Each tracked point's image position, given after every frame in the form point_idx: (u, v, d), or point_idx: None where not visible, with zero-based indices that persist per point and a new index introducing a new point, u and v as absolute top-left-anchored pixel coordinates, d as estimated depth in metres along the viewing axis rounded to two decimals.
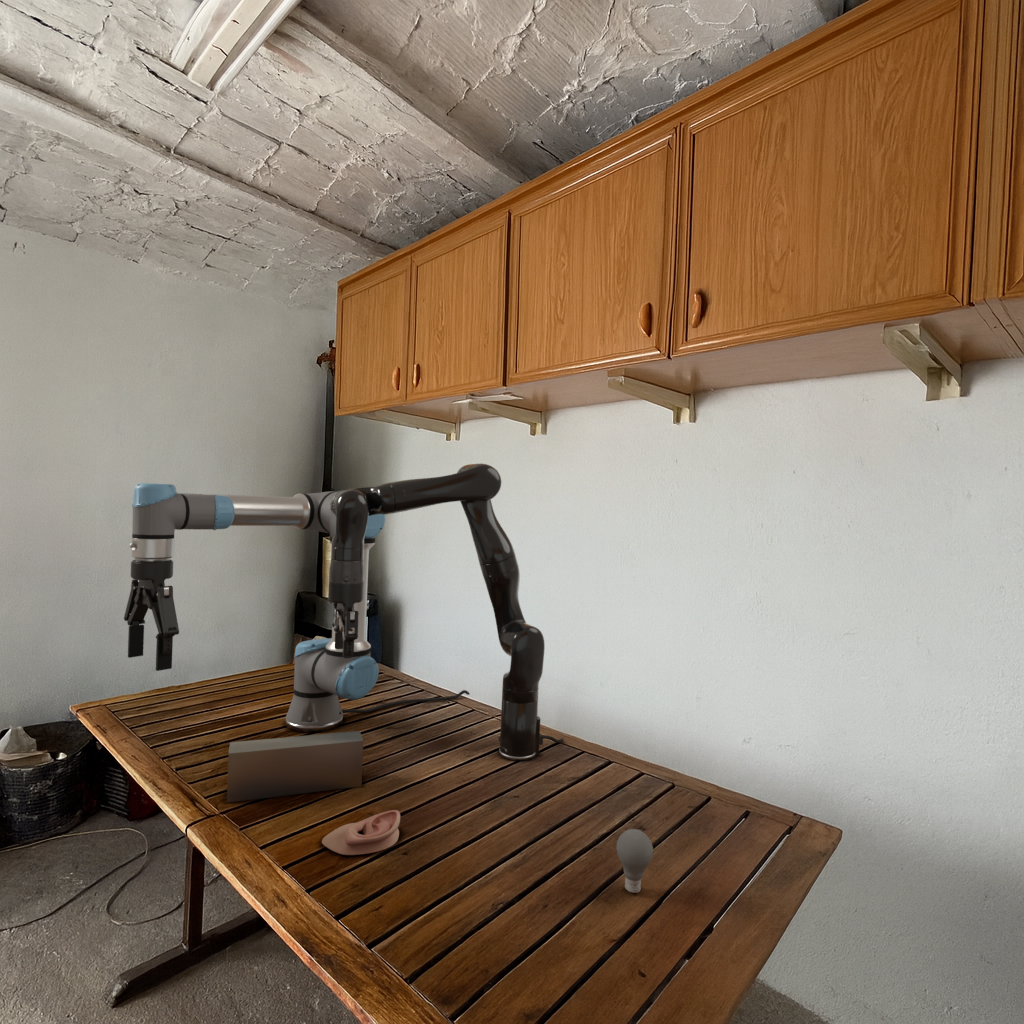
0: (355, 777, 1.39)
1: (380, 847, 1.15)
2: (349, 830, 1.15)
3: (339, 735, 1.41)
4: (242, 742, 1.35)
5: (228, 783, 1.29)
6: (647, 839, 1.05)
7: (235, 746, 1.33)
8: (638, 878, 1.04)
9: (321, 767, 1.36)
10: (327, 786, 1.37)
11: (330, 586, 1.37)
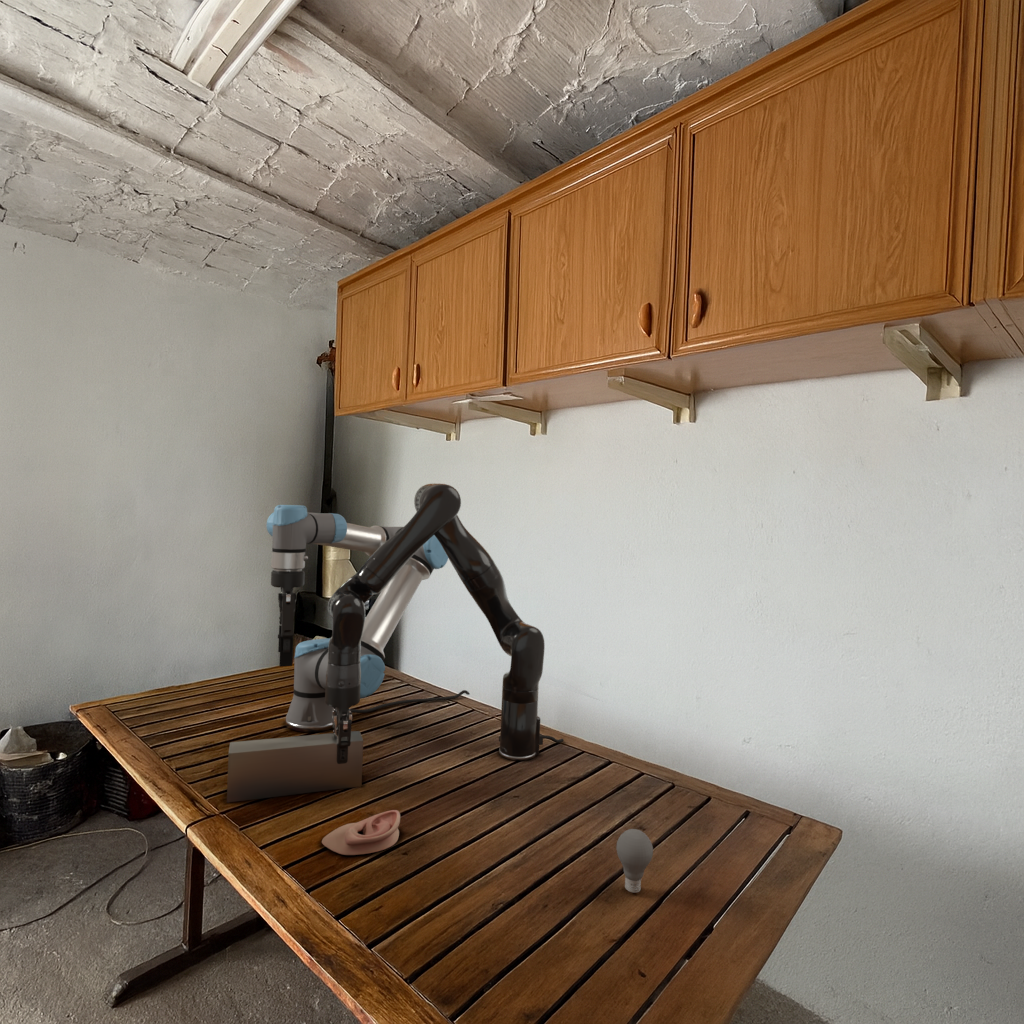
0: (355, 777, 1.39)
1: (380, 847, 1.15)
2: (349, 830, 1.15)
3: None
4: (242, 742, 1.35)
5: (228, 783, 1.29)
6: (647, 839, 1.05)
7: (235, 746, 1.33)
8: (638, 878, 1.04)
9: (321, 767, 1.36)
10: (327, 786, 1.37)
11: (326, 689, 1.38)
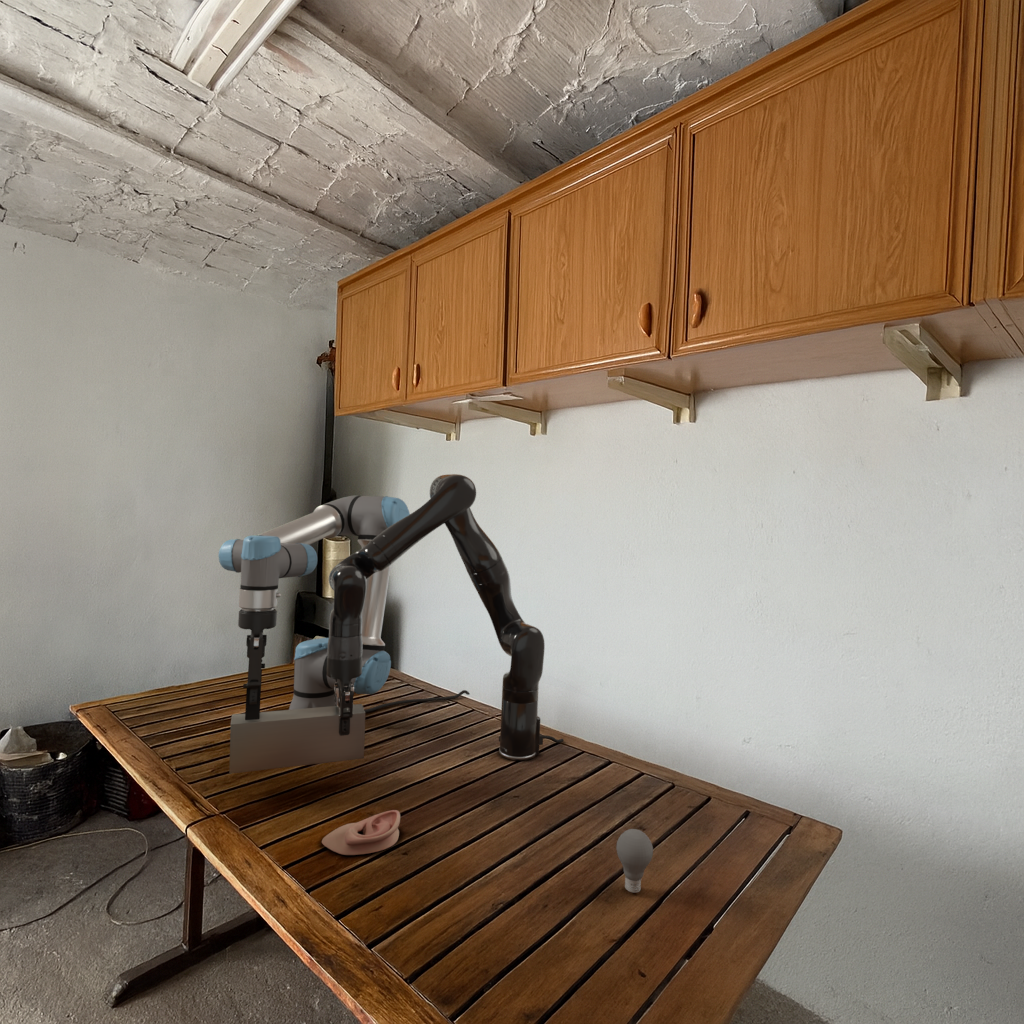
0: (357, 749, 1.39)
1: (380, 847, 1.15)
2: (349, 830, 1.15)
3: None
4: (244, 714, 1.35)
5: (230, 754, 1.29)
6: (647, 839, 1.05)
7: (237, 718, 1.33)
8: (638, 878, 1.04)
9: (324, 738, 1.36)
10: (330, 757, 1.37)
11: (328, 661, 1.38)
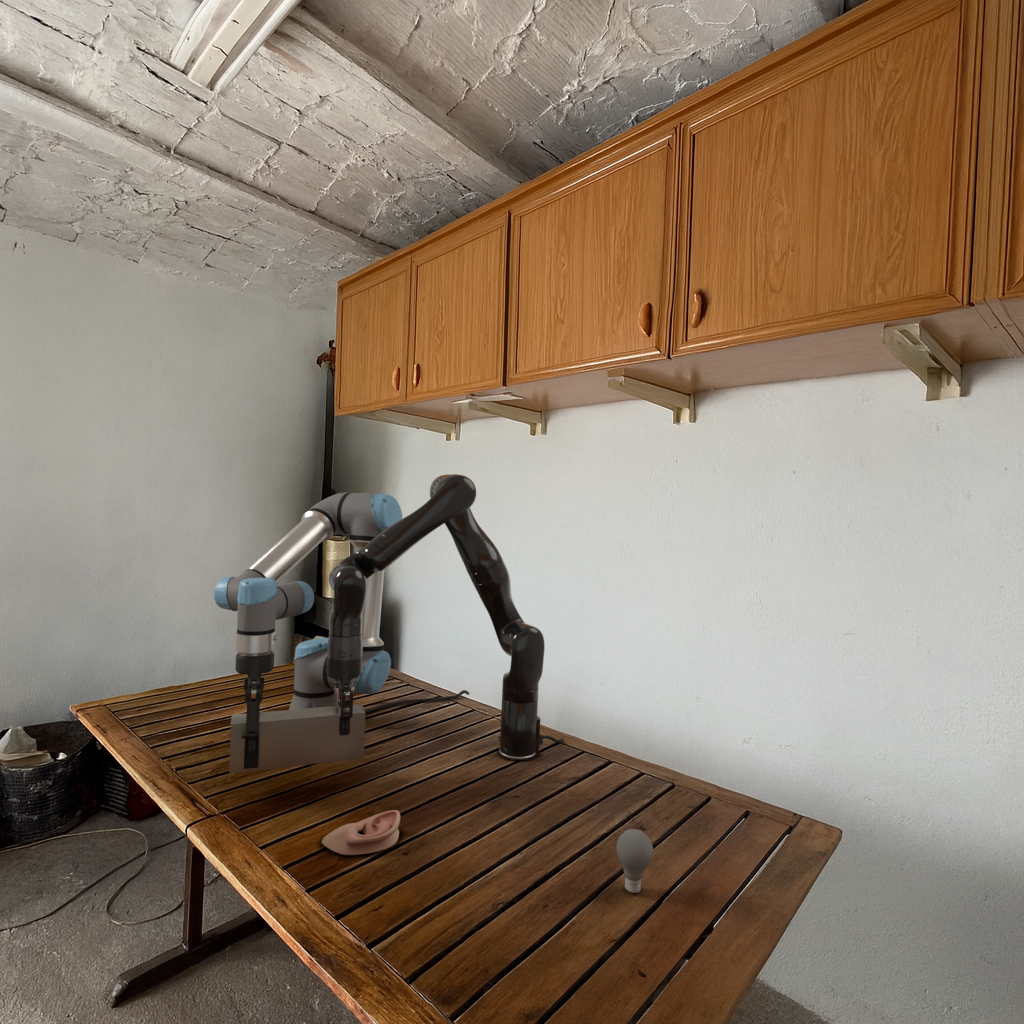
0: (357, 749, 1.39)
1: (380, 847, 1.15)
2: (349, 830, 1.15)
3: None
4: (244, 714, 1.35)
5: (230, 754, 1.29)
6: (647, 839, 1.05)
7: (237, 718, 1.33)
8: (638, 878, 1.04)
9: (324, 738, 1.36)
10: (330, 757, 1.37)
11: (328, 661, 1.38)
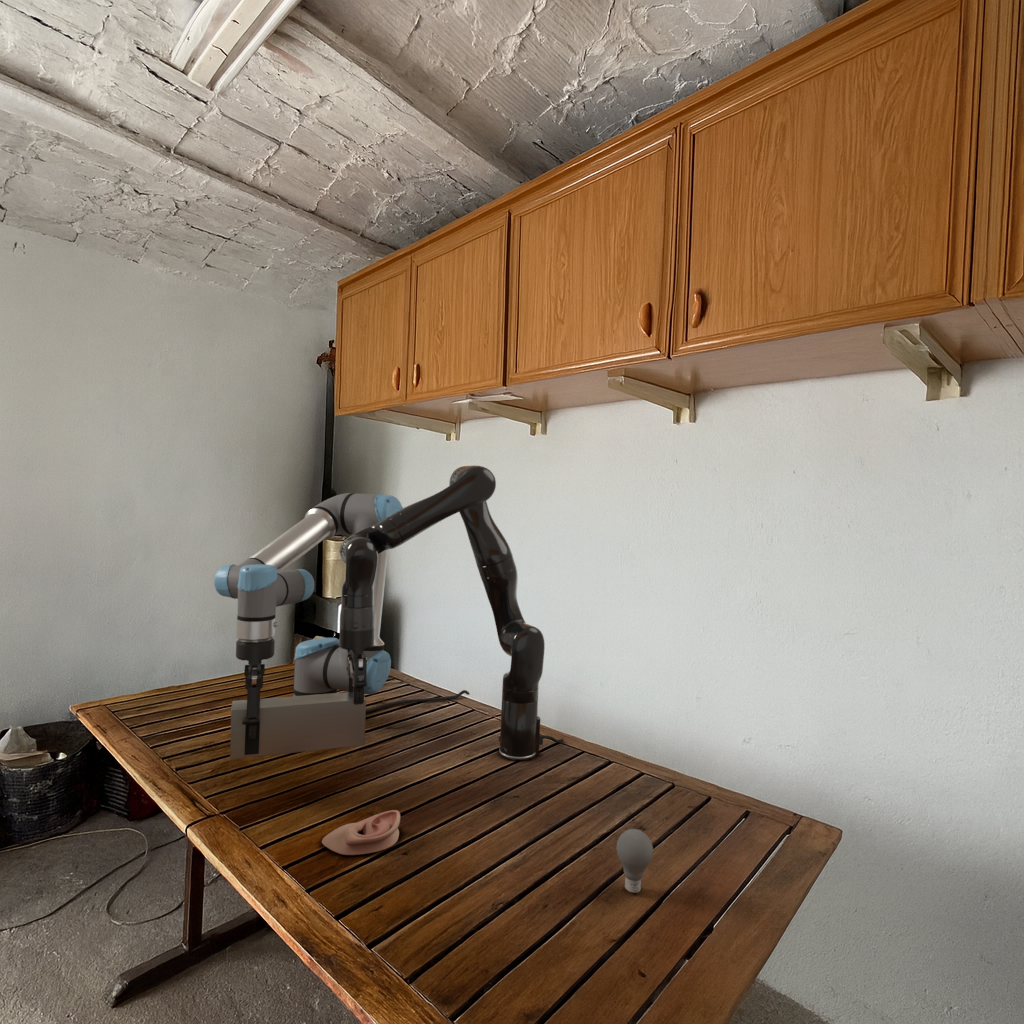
0: (358, 736, 1.39)
1: (380, 847, 1.15)
2: (349, 830, 1.15)
3: (342, 695, 1.41)
4: (245, 701, 1.35)
5: (231, 740, 1.29)
6: (647, 839, 1.05)
7: (238, 704, 1.33)
8: (638, 878, 1.04)
9: (324, 725, 1.36)
10: (330, 744, 1.37)
11: (340, 633, 1.39)
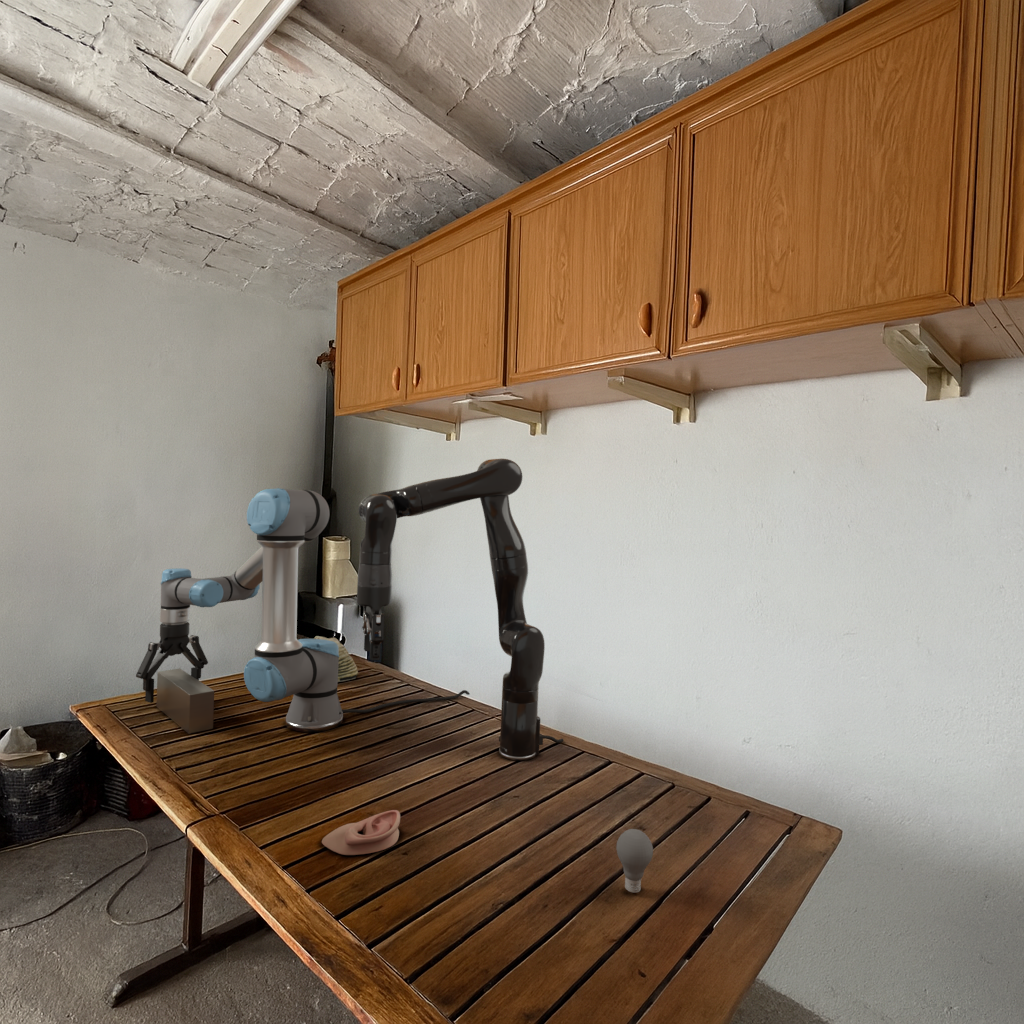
0: (187, 724, 1.66)
1: (380, 847, 1.15)
2: (349, 830, 1.15)
3: (200, 687, 1.70)
4: (180, 670, 1.86)
5: None
6: (647, 839, 1.05)
7: (171, 670, 1.85)
8: (638, 878, 1.04)
9: (178, 705, 1.71)
10: (179, 722, 1.70)
11: (358, 589, 1.40)
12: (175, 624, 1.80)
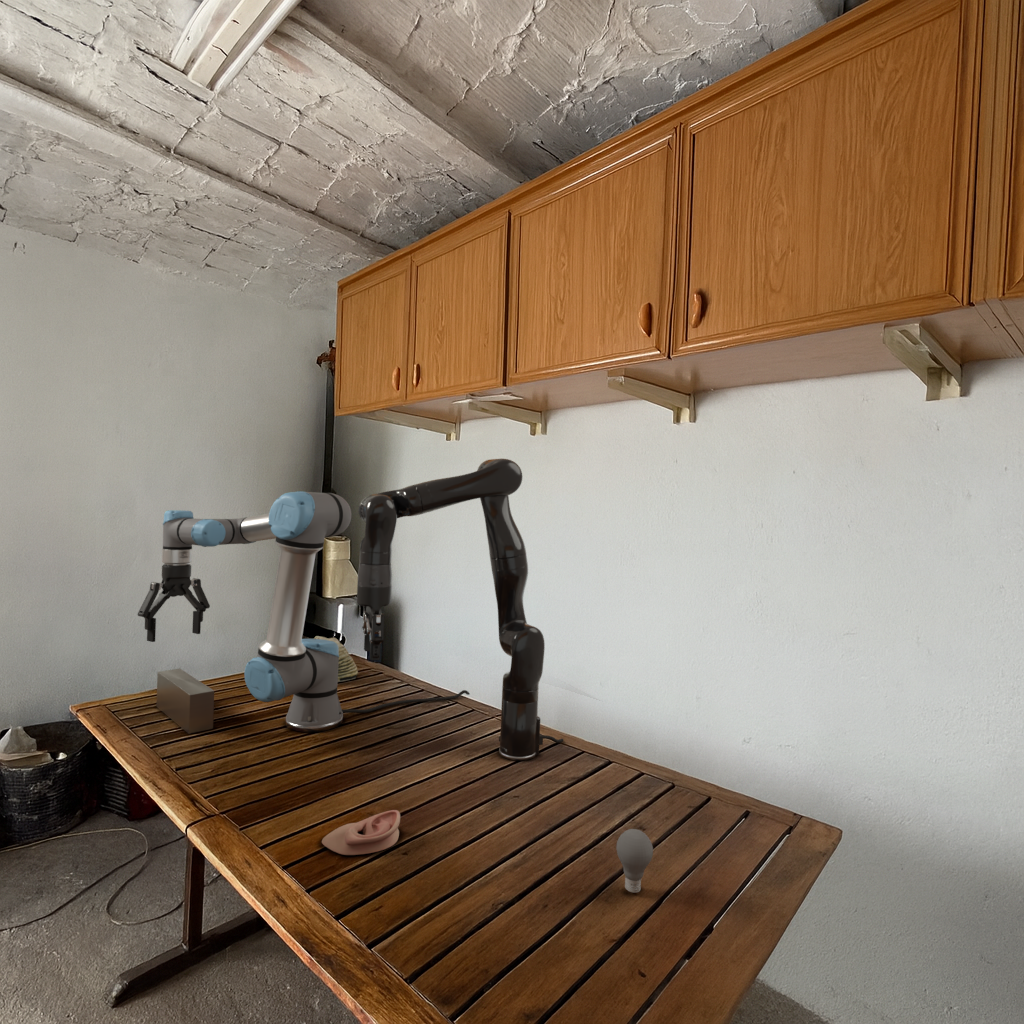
0: (187, 724, 1.66)
1: (380, 847, 1.15)
2: (349, 830, 1.15)
3: (200, 687, 1.70)
4: (180, 670, 1.86)
5: None
6: (647, 839, 1.05)
7: (171, 670, 1.85)
8: (638, 878, 1.04)
9: (178, 705, 1.71)
10: (179, 722, 1.70)
11: (358, 589, 1.40)
12: (177, 565, 1.80)
